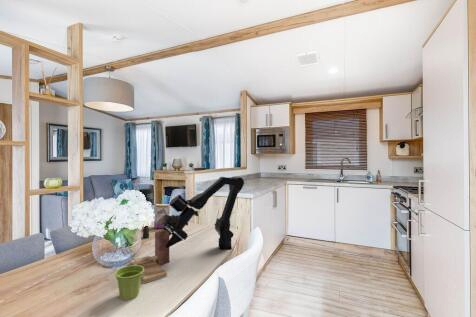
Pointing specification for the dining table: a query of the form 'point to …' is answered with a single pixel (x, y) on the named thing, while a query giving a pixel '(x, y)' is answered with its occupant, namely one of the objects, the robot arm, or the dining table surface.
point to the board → (150, 270)
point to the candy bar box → (161, 214)
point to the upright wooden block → (159, 249)
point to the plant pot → (129, 281)
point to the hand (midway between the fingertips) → (162, 244)
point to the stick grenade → (149, 197)
